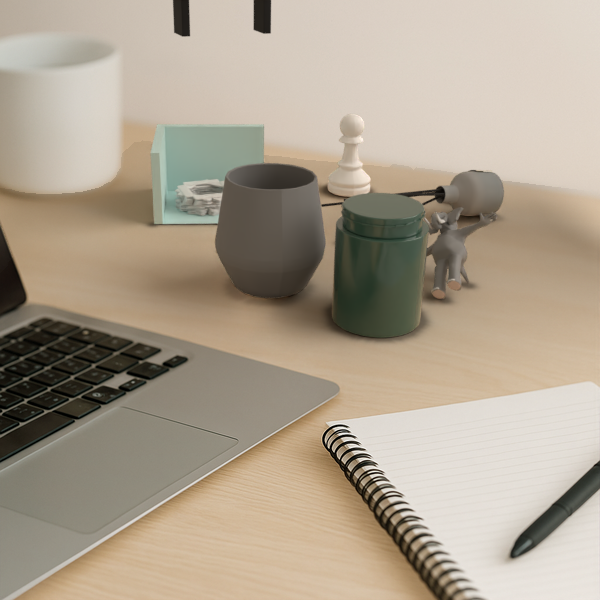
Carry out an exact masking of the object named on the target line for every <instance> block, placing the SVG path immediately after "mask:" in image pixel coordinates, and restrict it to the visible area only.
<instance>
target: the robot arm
mask: <svg viewBox="0 0 600 600" xmlns="http://www.w3.org/2000/svg"><path fill="white" fill-rule="evenodd" d="M172 11H173V13H172V14H173V34H176V35H178V36H180V37H185V38H186V37H191V19H190V18H191V17H190V15H191V14H190V0H172ZM253 31H254V32H258V33H261V34H264V35H266V34H267V35H268V34H269V35H270V34H272V0H253Z"/></svg>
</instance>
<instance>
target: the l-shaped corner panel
mask: <svg viewBox="0 0 600 600" xmlns="http://www.w3.org/2000/svg"><path fill="white" fill-rule="evenodd" d="M149 154H150V170H151V172H150V173H151V174H150V175H151V186H152V187H151V189H152V190H151V191H152V209H153V224H154V225H196V224H198V225H200V224H201V225H202V224H203V225H205V224H206V225H207V224H218V219H219V213H220V206H221V200H222V194H223V187H224V181H225V176H226V174H227V172H228V171H230V170H232V169H234V168H236V167H239V166H244V165H248V164H258V163H265V125H264V123H261V124H260V123H257V124H255V123H254V124H253V123H250V124H249V123H247V124H245V123H241V124H240V123H239V124H236V123H233V124H232V123H231V124H230V123H228V124H226V123H225V124H224V123H215V124H214V123H212V124H211V123H208V124H207V123H205V124H204V123H203V124H201V123H194V124H193V123H190V124H189V123H188V124H187V123H179V124H178V123H175V124H174V123H172V124H171V123H168V124H167V123H162V124H161V123H158V124H156V127H155V131H154V135H153V141H152V145H151V148H150V152H149Z"/></svg>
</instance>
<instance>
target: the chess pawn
mask: <svg viewBox="0 0 600 600" xmlns="http://www.w3.org/2000/svg"><path fill="white" fill-rule="evenodd" d="M365 126H366V125H365V121H364V119H363V118H362V116H360V115H359V114H356V113H347V114H346V115H344V116H343V117H342V118H341V120H340V123H339V130H340V132H341V134H342V135H341V136H340V137H339V138H338V142H340V143H342V144H343V145H344V146H343V153H342V155H341V159H340V160H337V161H338V162H337V168H336V169H334V170H333V171H332V172H331V173H329V175H328V176H327V180H328V182H327V191H329V193H331V194H333V195H334V196H335V195H336V196H340V197H346V198H347V197H348V198H349V197H352V196H355V195H359V194H366V193H370V192H371V181H372V179H371V177H370V175H369V174H368V173H367V172H366V171H365V170H364V169H363V166H364V163H363V162H362V161H361V160H360V158H359V145H360V144H363V143H364V142H365V141H364V138H363V137H362V136H361V135H363V133H364V131H365Z"/></svg>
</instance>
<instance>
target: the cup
mask: <svg viewBox="0 0 600 600" xmlns="http://www.w3.org/2000/svg"><path fill="white" fill-rule="evenodd" d="M321 204H322V203H321V196H320V189H319V181H318V176H317V174H316V173H315V172H314V171H313V170H311V169H309V168H306V167H304V166H299V165H294V164H291V163H290V164H289V163H279V162H264V163H258V164H248V165H244V166H239V167H236V168H234V169H232V170H230V171H228V172H227V174H226V176H225V181H224V187H223V194H222V200H221V206H220V213H219V219H218V223H217V226H216V232H215V238H214V247H215V251H216V254H217V256H218V259H219V261H220V263H221V265H222V266H223V268H224V270H225V272H226V273H227V276H228V277H229V279H230V281H231V282H232V284H233V286H234V287H235V288H236V289H238V290H239V291H240V292H242V293H243V294H245V295H249V296H252V297H255V298H261V299H279V298H287V297H291V296H293V295H296V294H298V293H300V292H301V291H302V290H303V289H305V288H306V287H307V286H308V284H309V283H310V281H311V280H312V278H313V276H314V274H315V272H316V271H317V269H318V267H319V266H320V264H321V262H322V260H323V259H324V255H325V251H326V246H327V245H326V244H327V241H326V240H327V239H326V232H325V225H324V218H323V211H322V206H321Z"/></svg>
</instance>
